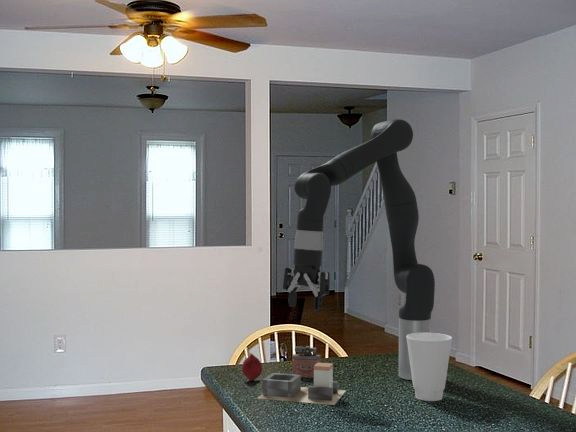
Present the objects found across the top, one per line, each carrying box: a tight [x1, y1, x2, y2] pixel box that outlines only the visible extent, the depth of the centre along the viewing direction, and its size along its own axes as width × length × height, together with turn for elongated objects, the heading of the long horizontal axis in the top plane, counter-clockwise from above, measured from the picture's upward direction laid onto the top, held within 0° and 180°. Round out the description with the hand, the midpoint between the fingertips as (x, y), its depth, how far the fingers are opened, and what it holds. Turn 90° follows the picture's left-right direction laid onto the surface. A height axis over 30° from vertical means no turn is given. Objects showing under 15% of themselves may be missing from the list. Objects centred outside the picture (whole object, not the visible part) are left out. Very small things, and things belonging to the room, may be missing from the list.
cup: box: [406, 332, 453, 402], centre depth 185 cm, size 12×12×16 cm
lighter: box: [291, 345, 322, 379], centre depth 202 cm, size 8×3×10 cm, turn 84°
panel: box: [256, 372, 347, 406], centre depth 182 cm, size 20×14×6 cm
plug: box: [313, 362, 334, 395], centre depth 181 cm, size 4×4×8 cm
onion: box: [241, 352, 263, 382], centre depth 202 cm, size 6×6×8 cm
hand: (304, 308), depth 188 cm, fingers open, 8 cm apart
